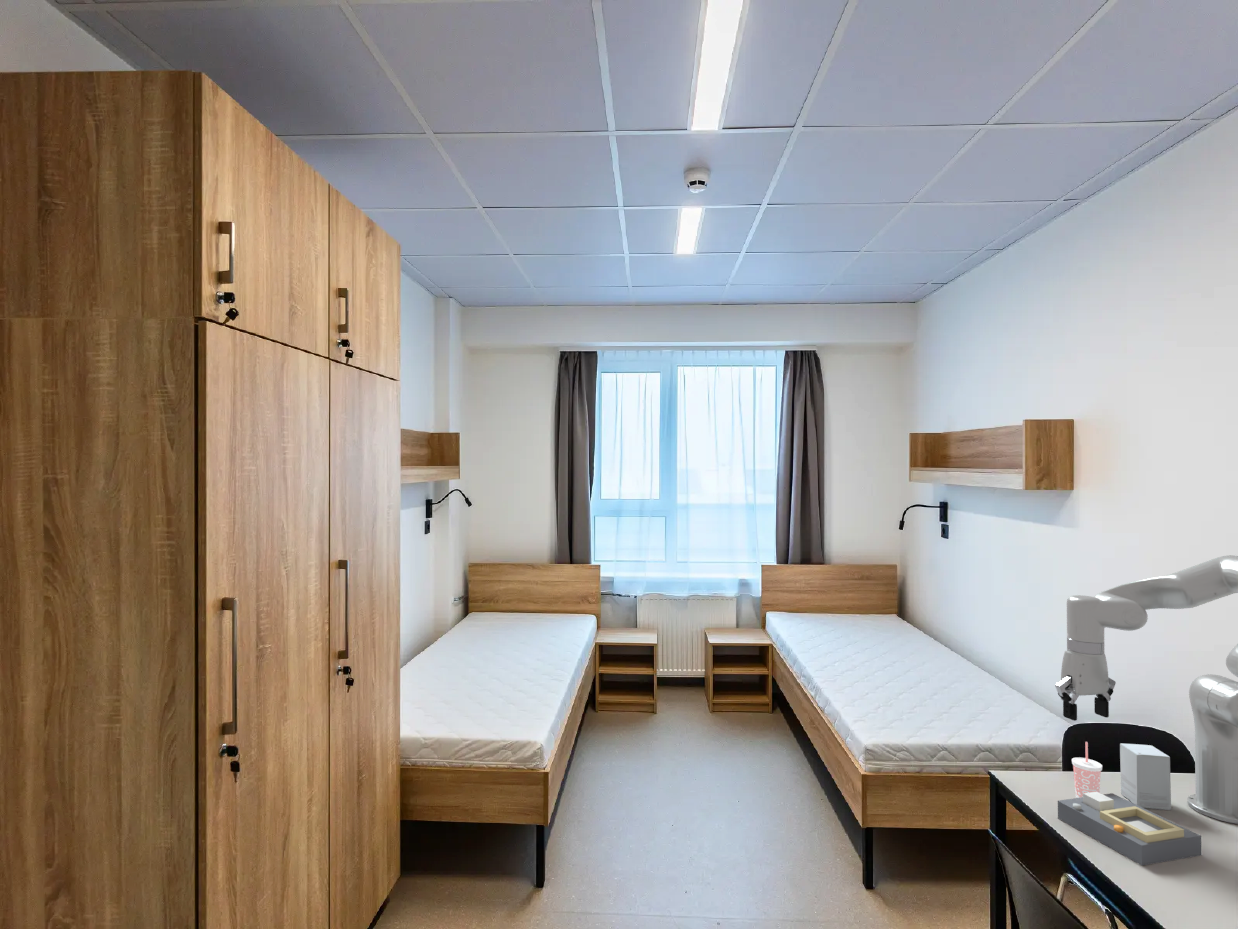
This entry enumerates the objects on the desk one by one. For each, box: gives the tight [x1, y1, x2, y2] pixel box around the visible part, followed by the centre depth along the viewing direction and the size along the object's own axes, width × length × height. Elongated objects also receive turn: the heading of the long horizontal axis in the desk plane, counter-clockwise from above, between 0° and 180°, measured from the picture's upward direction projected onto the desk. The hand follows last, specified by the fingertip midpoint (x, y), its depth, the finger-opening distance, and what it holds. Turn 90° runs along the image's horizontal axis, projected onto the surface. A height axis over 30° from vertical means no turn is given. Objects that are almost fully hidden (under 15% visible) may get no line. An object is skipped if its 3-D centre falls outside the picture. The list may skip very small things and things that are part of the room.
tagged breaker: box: [1126, 821, 1157, 832], centre depth 138 cm, size 4×4×4 cm
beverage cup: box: [1071, 741, 1103, 798], centre depth 159 cm, size 6×6×14 cm
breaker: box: [1083, 792, 1114, 812], centre depth 148 cm, size 4×4×4 cm
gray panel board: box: [1057, 792, 1203, 866], centre depth 143 cm, size 16×19×6 cm
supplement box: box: [1119, 742, 1172, 811], centre depth 158 cm, size 7×7×13 cm
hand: (1085, 717), depth 159 cm, fingers open, 9 cm apart
